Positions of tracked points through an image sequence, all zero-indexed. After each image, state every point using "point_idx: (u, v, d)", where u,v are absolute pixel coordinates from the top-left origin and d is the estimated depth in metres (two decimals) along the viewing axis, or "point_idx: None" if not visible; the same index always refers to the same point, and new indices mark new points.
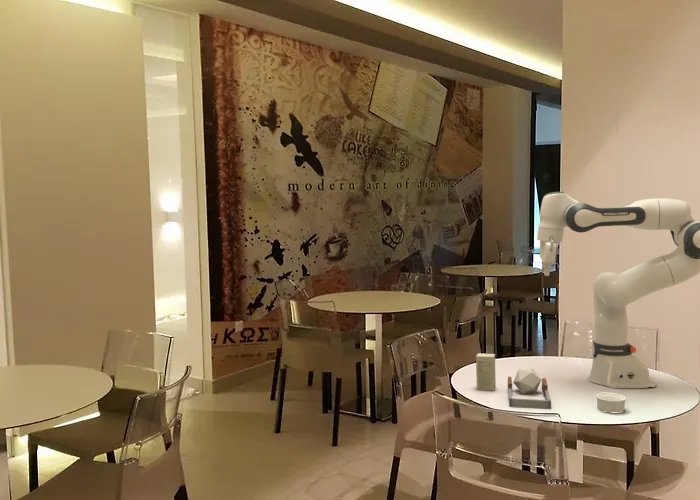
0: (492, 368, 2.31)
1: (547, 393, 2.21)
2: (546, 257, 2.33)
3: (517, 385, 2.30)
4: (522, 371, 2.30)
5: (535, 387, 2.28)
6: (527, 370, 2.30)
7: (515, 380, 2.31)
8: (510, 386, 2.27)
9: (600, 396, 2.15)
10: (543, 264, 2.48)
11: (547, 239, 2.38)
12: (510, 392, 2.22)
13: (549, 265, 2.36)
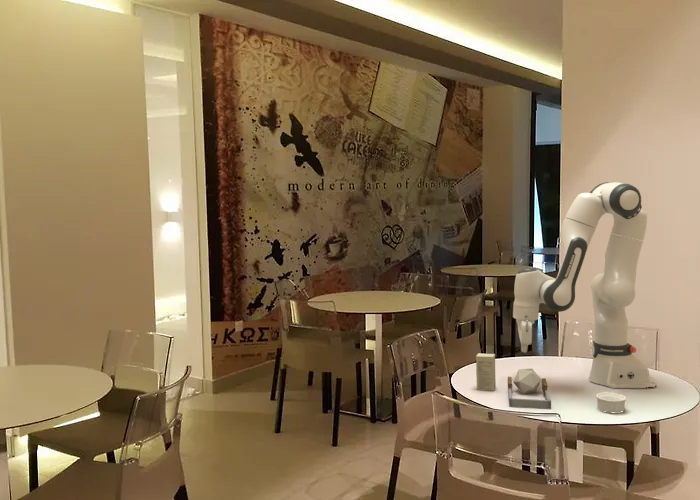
0: (492, 368, 2.31)
1: (547, 393, 2.21)
2: (522, 338, 2.29)
3: (517, 385, 2.30)
4: (522, 371, 2.30)
5: (535, 387, 2.28)
6: (527, 370, 2.29)
7: (515, 380, 2.31)
8: (510, 386, 2.27)
9: (600, 396, 2.15)
10: None
11: (523, 318, 2.34)
12: (510, 392, 2.22)
13: None
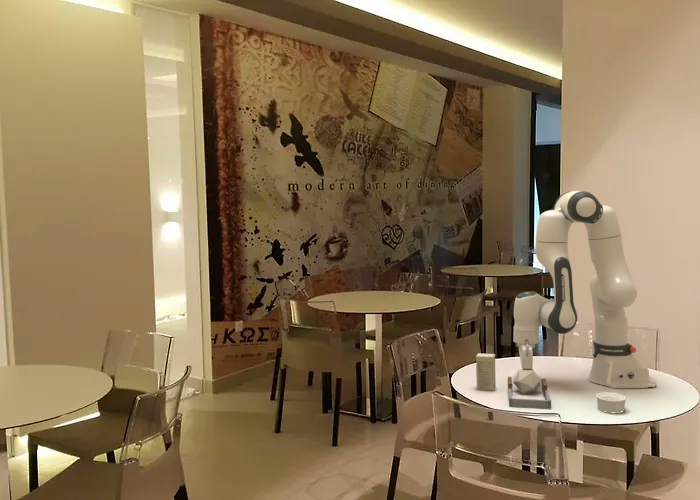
0: (492, 368, 2.31)
1: (547, 393, 2.21)
2: (523, 362, 2.30)
3: (517, 385, 2.30)
4: (522, 371, 2.30)
5: (535, 387, 2.28)
6: (527, 370, 2.30)
7: (515, 380, 2.31)
8: (510, 386, 2.27)
9: (600, 396, 2.15)
10: None
11: (523, 342, 2.35)
12: (510, 392, 2.22)
13: None
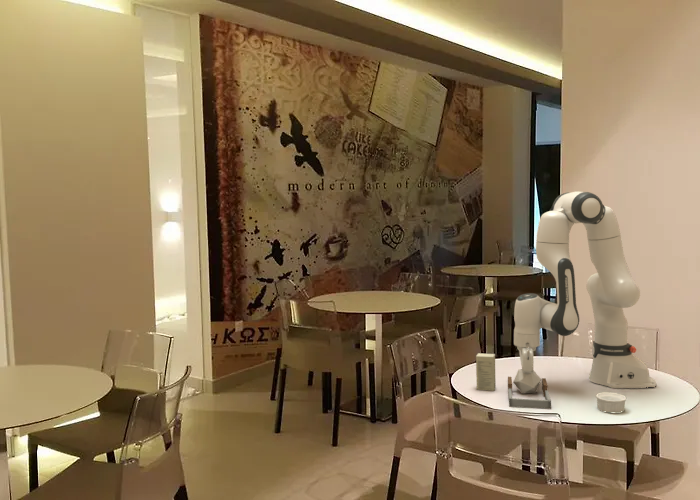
0: (492, 368, 2.31)
1: (547, 393, 2.21)
2: (524, 366, 2.26)
3: (517, 385, 2.30)
4: None
5: (535, 387, 2.27)
6: None
7: (515, 380, 2.31)
8: (510, 386, 2.27)
9: (600, 396, 2.15)
10: None
11: (524, 345, 2.31)
12: (510, 392, 2.22)
13: None
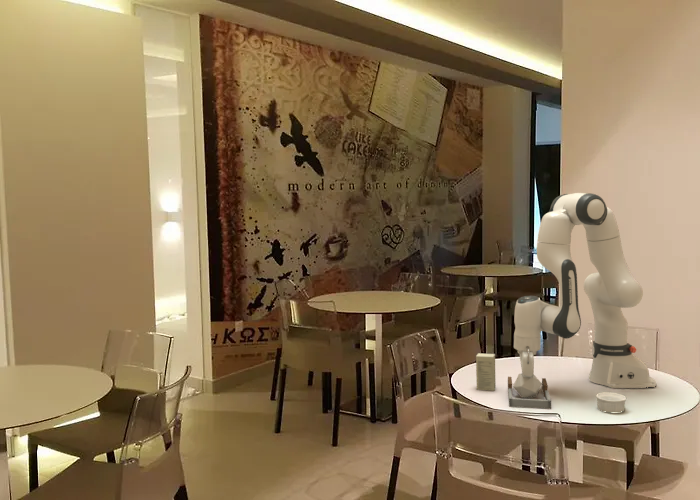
0: (492, 368, 2.31)
1: (547, 393, 2.21)
2: (524, 370, 2.20)
3: (518, 390, 2.24)
4: None
5: (536, 392, 2.23)
6: None
7: (515, 385, 2.25)
8: (510, 386, 2.27)
9: (600, 396, 2.15)
10: None
11: (524, 349, 2.25)
12: (510, 392, 2.22)
13: None
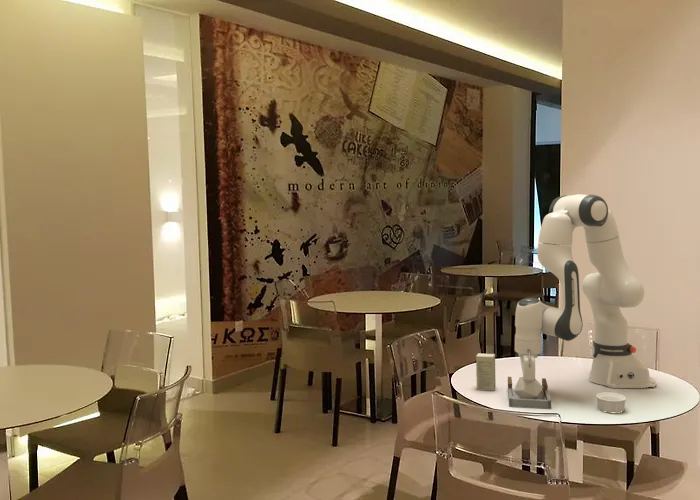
0: (492, 368, 2.31)
1: (547, 393, 2.21)
2: (525, 374, 2.16)
3: (519, 394, 2.20)
4: None
5: (537, 395, 2.19)
6: None
7: (516, 388, 2.21)
8: (510, 386, 2.27)
9: (600, 396, 2.15)
10: None
11: (525, 352, 2.21)
12: (510, 392, 2.22)
13: None
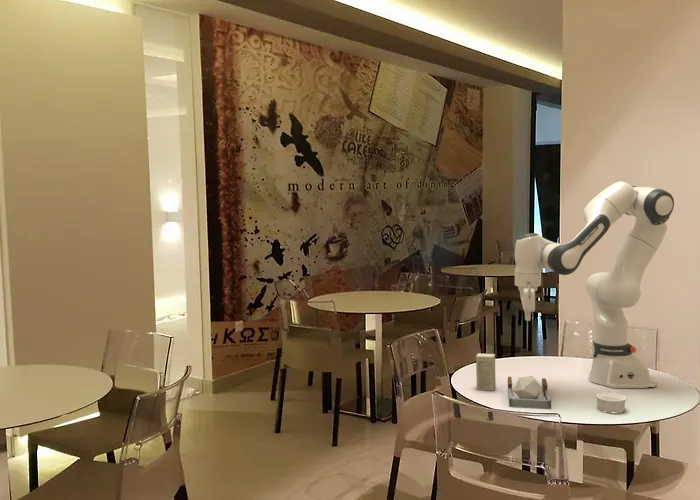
0: (492, 368, 2.31)
1: (547, 393, 2.21)
2: (525, 305, 2.22)
3: (518, 394, 2.20)
4: (523, 379, 2.20)
5: (537, 395, 2.19)
6: (528, 378, 2.20)
7: (516, 389, 2.21)
8: (510, 386, 2.27)
9: (600, 396, 2.15)
10: None
11: (525, 285, 2.27)
12: (510, 392, 2.22)
13: None
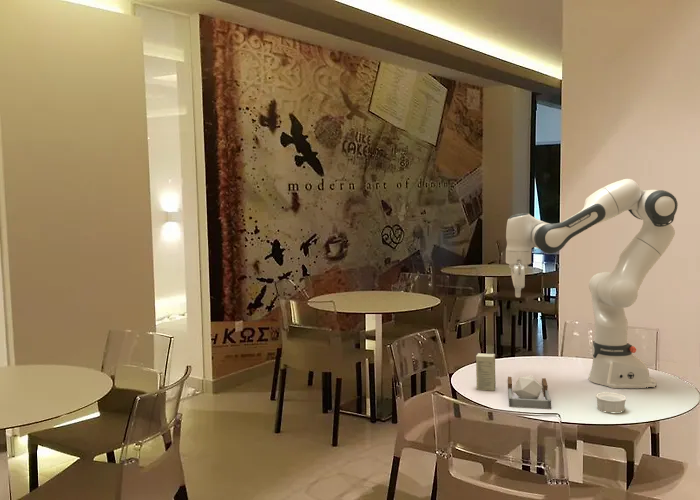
0: (492, 368, 2.31)
1: (547, 393, 2.21)
2: (515, 281, 2.30)
3: (518, 394, 2.20)
4: (523, 379, 2.20)
5: (537, 395, 2.19)
6: (528, 378, 2.20)
7: (516, 389, 2.21)
8: (510, 386, 2.27)
9: (600, 396, 2.15)
10: None
11: (515, 262, 2.35)
12: (510, 392, 2.22)
13: None
